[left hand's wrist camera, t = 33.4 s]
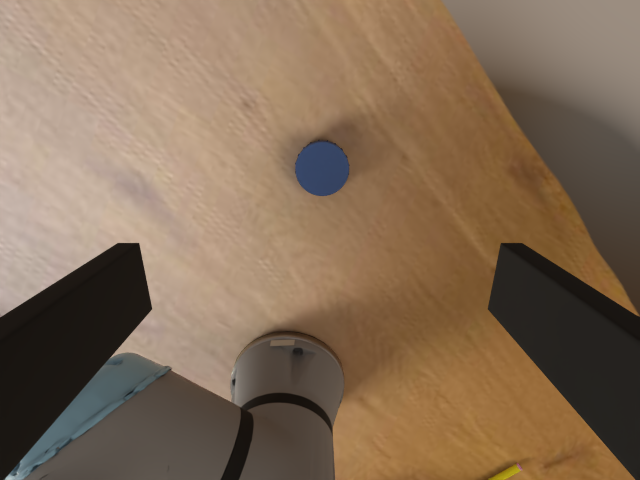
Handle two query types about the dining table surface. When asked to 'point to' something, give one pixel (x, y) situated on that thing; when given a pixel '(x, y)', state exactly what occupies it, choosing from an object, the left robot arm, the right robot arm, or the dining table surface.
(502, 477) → the pencil
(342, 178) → the lid
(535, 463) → the dining table surface
